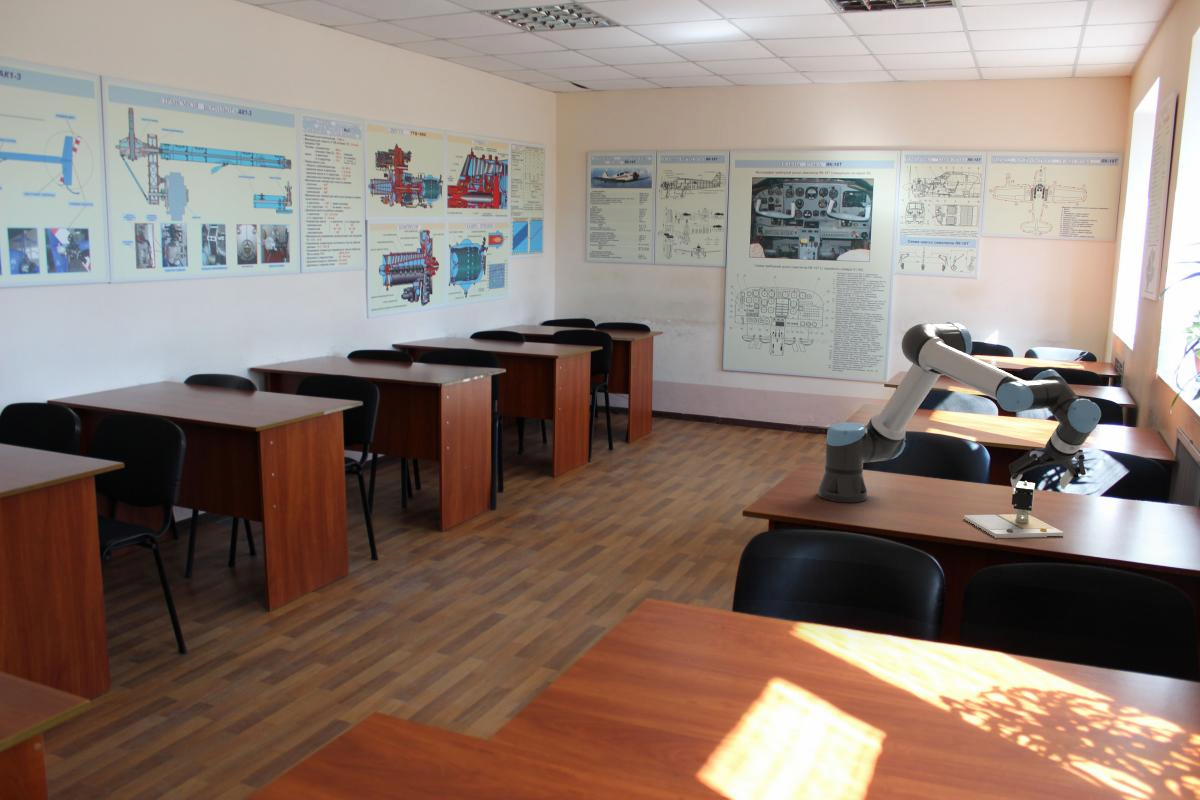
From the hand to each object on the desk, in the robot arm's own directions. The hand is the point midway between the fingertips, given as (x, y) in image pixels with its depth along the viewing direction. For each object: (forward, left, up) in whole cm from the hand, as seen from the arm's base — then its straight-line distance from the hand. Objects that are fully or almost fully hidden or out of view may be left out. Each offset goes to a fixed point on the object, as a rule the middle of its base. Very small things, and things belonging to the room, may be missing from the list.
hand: (1037, 484), depth 268 cm
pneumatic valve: (-4, -2, -12) cm, 13 cm away
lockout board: (-2, -5, -13) cm, 15 cm away
